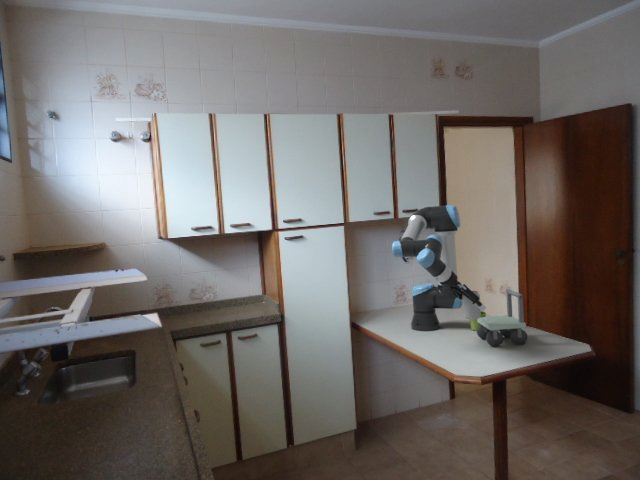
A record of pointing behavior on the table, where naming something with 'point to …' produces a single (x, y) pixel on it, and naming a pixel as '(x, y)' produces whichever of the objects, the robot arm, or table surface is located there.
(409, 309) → the table surface
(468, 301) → the can
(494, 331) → the trolley
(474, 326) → the plant pot
